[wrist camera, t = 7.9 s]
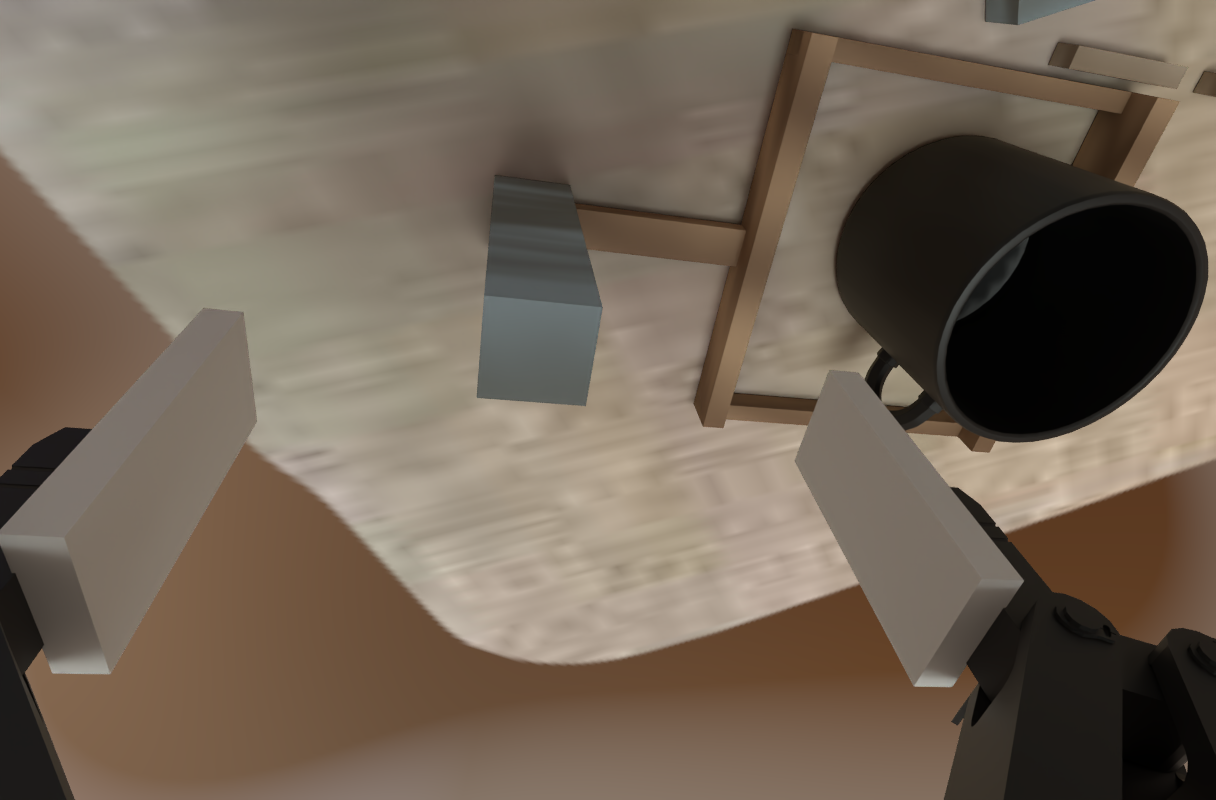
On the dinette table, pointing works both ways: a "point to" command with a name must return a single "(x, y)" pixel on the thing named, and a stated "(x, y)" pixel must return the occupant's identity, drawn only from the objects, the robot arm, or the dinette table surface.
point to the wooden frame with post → (729, 237)
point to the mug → (1017, 287)
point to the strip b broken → (1025, 3)
